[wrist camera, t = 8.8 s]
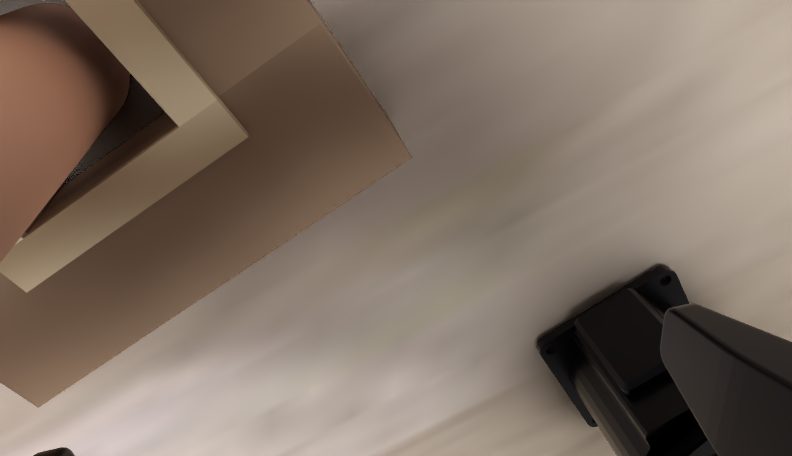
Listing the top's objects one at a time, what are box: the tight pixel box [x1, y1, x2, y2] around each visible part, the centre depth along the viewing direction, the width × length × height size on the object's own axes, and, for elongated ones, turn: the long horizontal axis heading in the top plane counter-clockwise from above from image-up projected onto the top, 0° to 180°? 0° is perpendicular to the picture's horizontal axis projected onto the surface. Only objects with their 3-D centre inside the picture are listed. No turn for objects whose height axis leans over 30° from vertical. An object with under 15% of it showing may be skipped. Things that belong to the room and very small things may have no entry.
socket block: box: [0, 0, 411, 407], centre depth 15 cm, size 14×14×4 cm
